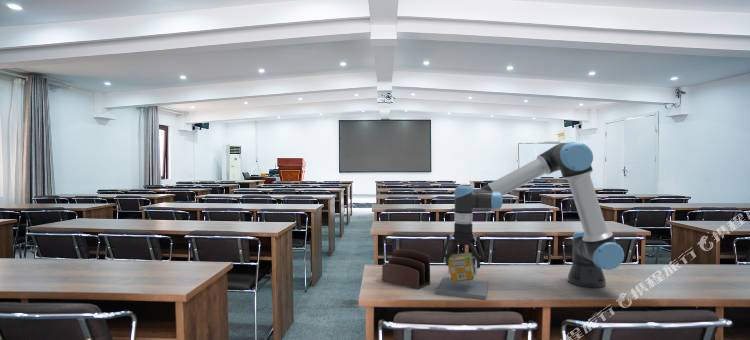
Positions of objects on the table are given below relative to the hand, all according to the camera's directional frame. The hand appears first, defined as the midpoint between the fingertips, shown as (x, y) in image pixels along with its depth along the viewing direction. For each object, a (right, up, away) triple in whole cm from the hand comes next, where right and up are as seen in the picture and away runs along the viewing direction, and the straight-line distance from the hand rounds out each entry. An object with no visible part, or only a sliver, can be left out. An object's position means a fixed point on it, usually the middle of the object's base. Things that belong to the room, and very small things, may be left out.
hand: (462, 274), depth 171 cm
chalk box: (-3, +4, -8) cm, 10 cm away
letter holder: (-23, -7, +10) cm, 26 cm away
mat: (0, -6, 0) cm, 6 cm away
